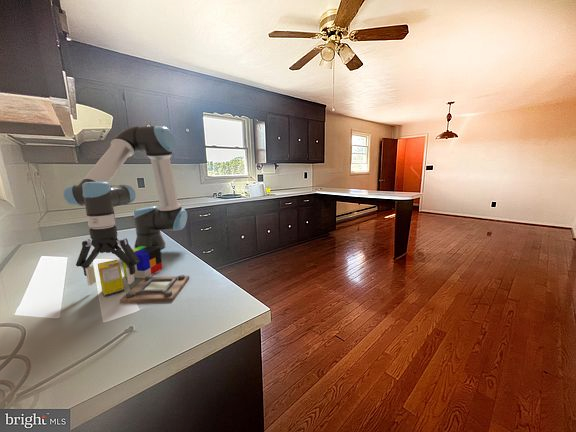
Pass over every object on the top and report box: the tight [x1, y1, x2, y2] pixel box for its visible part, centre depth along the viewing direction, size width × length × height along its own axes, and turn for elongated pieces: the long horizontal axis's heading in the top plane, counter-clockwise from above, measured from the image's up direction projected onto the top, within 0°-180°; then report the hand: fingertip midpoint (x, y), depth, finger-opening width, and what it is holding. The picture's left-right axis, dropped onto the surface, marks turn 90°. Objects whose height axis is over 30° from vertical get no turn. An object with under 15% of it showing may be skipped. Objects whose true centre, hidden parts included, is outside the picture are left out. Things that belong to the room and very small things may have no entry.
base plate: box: [119, 274, 190, 304], centre depth 88 cm, size 17×17×2 cm
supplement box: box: [97, 259, 125, 298], centre depth 86 cm, size 6×6×11 cm
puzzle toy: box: [121, 246, 163, 279], centre depth 102 cm, size 10×10×10 cm
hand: (111, 283), depth 87 cm, fingers open, 13 cm apart
